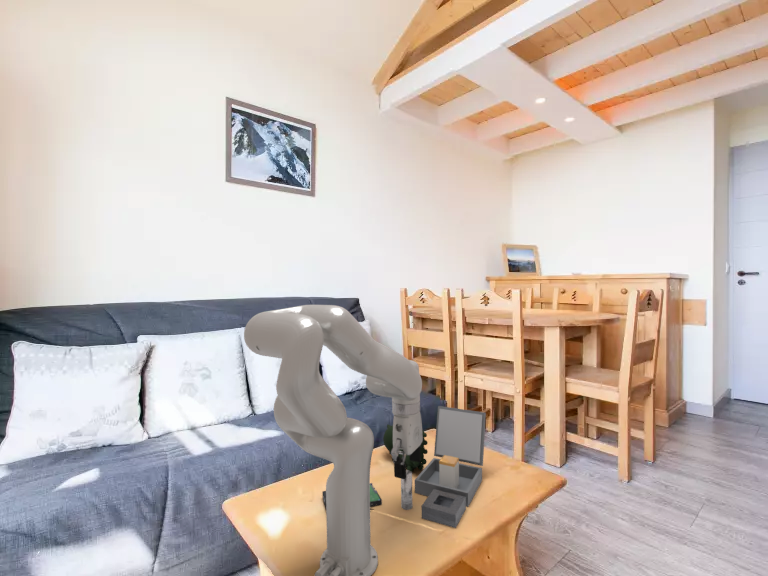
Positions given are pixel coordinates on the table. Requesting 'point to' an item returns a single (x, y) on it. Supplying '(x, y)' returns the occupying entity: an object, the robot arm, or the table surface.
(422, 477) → the case
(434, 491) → the socket block
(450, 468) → the block
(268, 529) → the table surface
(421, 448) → the toy figurine
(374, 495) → the disk drive
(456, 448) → the lid
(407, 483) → the rod
